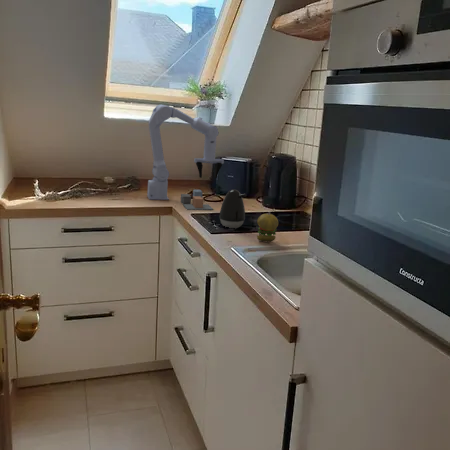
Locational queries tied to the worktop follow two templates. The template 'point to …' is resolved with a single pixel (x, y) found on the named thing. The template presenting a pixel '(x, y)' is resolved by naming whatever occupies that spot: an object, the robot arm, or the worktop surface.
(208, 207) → the slate mat
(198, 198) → the terracotta brick
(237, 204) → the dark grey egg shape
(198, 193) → the dusty-blue brick
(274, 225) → the hamburger
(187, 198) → the charcoal brick
